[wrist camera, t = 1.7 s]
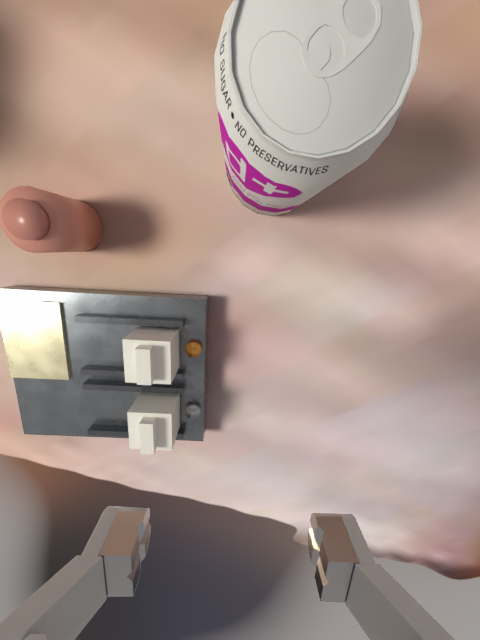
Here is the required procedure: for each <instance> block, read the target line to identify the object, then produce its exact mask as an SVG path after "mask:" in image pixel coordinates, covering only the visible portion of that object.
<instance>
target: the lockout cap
mask: <svg viewBox="0 0 480 640" xmlns="http://www.w3.org/2000/svg"><path fill="white" fill-rule="evenodd" d="M0 224H1V227H2V229H3V231H4V233H5V234H6V236H7V237H8V238H9V239H10V240H11V241H12V242H13V243H14V244H15V245H16V246H18V247H19V248H21V249H23V250H26V251H29V252H34V253H46V252H83V251H89V250H91V249H93V248H95V247H96V246H97V245H98V244H99V242H100V241H101V238H102V234H103V226H102V222H101V219H100V217H99V215H98V214H97V212H96V211H95V210H94V209H93V208H92V207H91V206H90V205H88V204H86V203H84V202H81V201H78V200H75V199H71V198H68V197H64V196H61V195H58V194H54V193H51V192H47V191H44V190H41V189H37V188H34V187H29V186H19V187H15V188H13V189H11V190H9V191H8V192H7V193H6V194H5V195H4V196H3V198H2V200H1V202H0Z"/></svg>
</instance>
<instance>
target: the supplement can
mask: <svg viewBox="0 0 480 640" xmlns="http://www.w3.org/2000/svg"><path fill="white" fill-rule="evenodd" d="M421 31H422V22H421V16H420V9H419V3H418V0H234V1H233V2H232V4H231V6H230V7H229V9H228V10H227V12H226V14H225V17H224V21H223V25H222V28H221V32H220V36H219V40H218V44H217V48H216V52H215V56H214V60H215V86H216V102H217V109H218V116H219V123H220V130H221V137H222V144H223V151H224V158H225V165H226V172H227V177H228V180H229V183H230V185H231V188H232V191H233V193H234V194H235V195H236V197H237V198H238V199H239V200H240V202H241V203H242V204H243V205H244V206H245V207H247V208H249V209H250V210H252V211H254V212H255V213H257V214H263V215H269V216H275V215H280V214H285V213H288V212H290V211H291V210H293V209H295V208H296V207H298V206H299V205H301V204H302V203H304V202H305V201H307V200H308V199H310V198H311V197H313V196H314V195H316V194H317V193H319V192H320V191H322V190H323V189H325V188H326V187H328V186H329V185H331V184H332V183H334V182H335V181H337V180H338V179H340V178H341V177H343V176H344V175H346V174H347V173H349V172H350V171H352V170H353V169H355V168H356V167H358V166H359V165H361V164H362V163H364V162H365V161H367V160H368V159H369V158H370V157H371V155H372V154H373V153H374V152H375V151H376V149H377V148H378V147H379V146H380V145H381V143H382V142H383V141H384V140H385V138H386V137H387V136H388V135H389V134H390V132H391V131H392V129H393V127H394V124H395V122H396V120H397V117H398V115H399V113H400V110H401V108H402V106H403V103H404V101H405V99H406V96H407V94H408V88H409V85H410V83H411V80H412V78H413V76H414V73H415V71H416V69H417V62H418V55H419V47H420V39H421Z"/></svg>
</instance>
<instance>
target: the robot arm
mask: <svg viewBox="0 0 480 640" xmlns="http://www.w3.org/2000/svg"><path fill="white" fill-rule="evenodd" d="M149 517H150V509H149V508H135V507H117V506H108V507H107V508H106V509H105V510H104V512H103V513H102V515H101V517H100V519H99V521H98V523H97V525H96V527H95V529H94V531H93V533H92V535H91V537H90V539H89V541H88V543H87V545H86V547H85V549H84V551H83V553H82V555H81V556H76V557H74V559H72V560H71V561H70V562H69V563H68V564H67V565H65V566H64V567H63V568H62V569H61V570H60V571H59V572H58V573H56V574H55V575H54V576H53V577H52V578H51V579H50V580H49V581H47V582H46V583H45V584H44V585H43V586H42V587H41V588H40V589H38V590H37V591H36V592H35V593H34V594H33V595H32V596H30V597H29V598H28V599H27V600H26V601H25V602H24V603H22V604H21V605H20V606H19V607H18V608H17V609H16V610H15V611H14V612H12V613H11V614H10V615H9V616H8V617H7V618H6V619H4V620H3V621H2V622H1V623H0V640H74V639H75V638H76V637H77V636H78V634H79V633H80V632H81V631H82V629H83V628H84V627H85V626H86V624H87V623H88V622H89V621H90V619H91V618H92V617H93V616H94V614H95V613H96V612H97V610H98V609H99V608H100V607H101V605H102V604H103V603H104V602H105V600H106V599H107V597H129V596H134V593H135V589H136V586H137V583H138V579H139V576H140V572H141V569H140V562H141V561H142V560H143V559H144V557H145V556H146V552H147V549H148V544H149V539H150V530H151V529H150V524H149V523H148V520H149ZM310 522H311V526H312V527H311V528H310V529H309V531H308V549H309V555H310V559H311V562H312V563H313V565H314V566H315V567H316V572H315V580H316V584H317V588H318V592H319V597H320V601H328V602H344V603H345V602H346V605H347V607H348V608H349V610H350V611H351V612H352V614H353V616H354V617H355V618H356V620H357V621H358V623H359V624H360V626H361V627H362V629H363V630H364V631H365V633H366V634H367V636H368V637H369V639H370V640H455V639H454V638H453V637H452V636H451V635H450V634H449V633H448V632H446V630H445V629H444V628H443V627H442V626H441V625H440V624H439V623H438V622H437V621H436V620H435V619H433V617H432V616H431V615H430V614H429V613H428V612H427V611H426V610H425V609H424V608H423V607H422V606H421V605H420V604H419V603H418V602H417V601H416V600H415V599H414V598H413V597H412V596H411V595H410V594H409V593H408V592H407V591H406V590H405V589H404V588H403V587H402V586H401V585H400V584H399V583H398V582H397V581H396V580H395V579H394V578H393V577H392V576H391V575H390V574H389V573H388V572H387V571H386V570H385V569H384V568H383V567H382V566H381V565H380V564H375V562H374V559H373V557H372V555H371V553H370V550H369V548H368V546H367V544H366V541H365V539H364V537H363V535H362V532H361V530H360V528H359V526H358V523H357V521H356V519H355V517H354V516H353V515H352V514H329V513H312V515H311V519H310Z"/></svg>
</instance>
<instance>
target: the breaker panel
mask: <svg viewBox="0 0 480 640" xmlns="http://www.w3.org/2000/svg"><path fill="white" fill-rule="evenodd" d="M0 324H1V329H2V335H3V340H4V345H5V350H6V355H7V360H8V365H9V371H10V376H11V377H12V378H14V383H15V388H16V393H17V398H18V404H19V409H20V414H21V419H22V424H23V430H24V434H35V435H61V436H87V437H112V438H129V433H128V418H127V412H128V410H129V409H130V407H131V406H132V404H133V403H134V401H135V400H136V398H137V397H138V395H139V394H140V392H151V393H174V394H180V427H179V430H178V434H177V437H176V440H190V441H203V438H204V433H205V414H206V371H207V327H208V296H205V295H185V294H166V293H147V292H128V291H109V290H90V289H71V288H51V287H32V286H8V287H3V288H0ZM137 327H152V328H172V329H179V354H180V367H179V369H178V371H177V373H176V375H175V377H174V379H173V381H172V383H171V384H152V385H137V383H127V382H125V374H124V359H123V344H122V339H123V338H124V337H126V336H127V335H128V334H129V333H131V332H132V331H133V330H134V329H136V328H137Z"/></svg>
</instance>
